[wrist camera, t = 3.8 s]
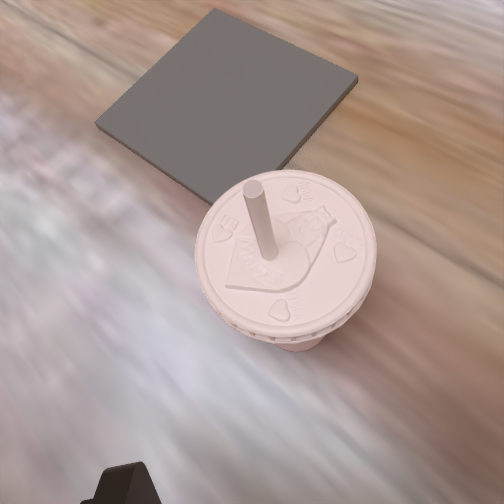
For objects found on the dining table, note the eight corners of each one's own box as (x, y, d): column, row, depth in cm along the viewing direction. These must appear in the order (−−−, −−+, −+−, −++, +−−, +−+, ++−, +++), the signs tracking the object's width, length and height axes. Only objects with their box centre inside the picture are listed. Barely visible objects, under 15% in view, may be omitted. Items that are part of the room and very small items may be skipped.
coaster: (98, 127, 31) (94, 122, 31) (215, 14, 34) (214, 7, 34) (235, 222, 27) (233, 217, 26) (357, 82, 30) (358, 75, 29)
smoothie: (215, 306, 25) (107, 163, 12) (306, 242, 25) (295, 43, 13) (283, 404, 22) (237, 355, 9) (381, 329, 23) (462, 190, 10)
